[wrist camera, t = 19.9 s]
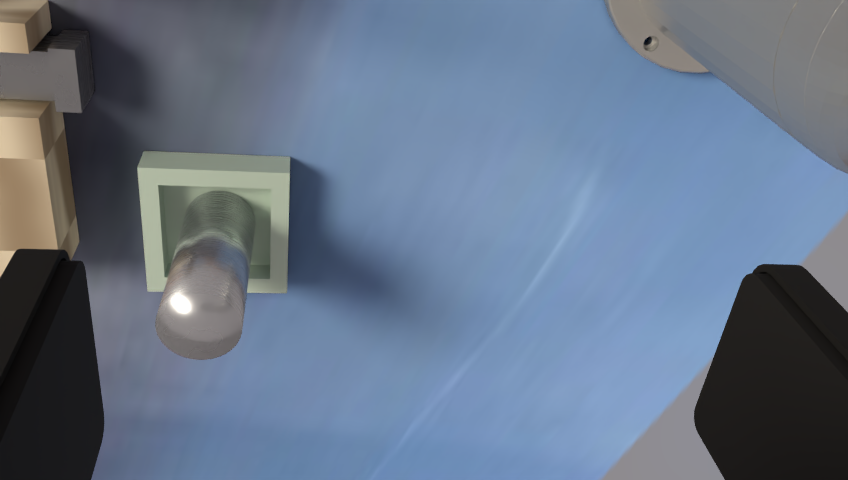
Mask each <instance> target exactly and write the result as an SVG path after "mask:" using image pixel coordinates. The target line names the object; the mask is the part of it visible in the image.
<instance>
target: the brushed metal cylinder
mask: <svg viewBox="0 0 848 480" xmlns="http://www.w3.org/2000/svg"><path fill="white" fill-rule="evenodd" d="M255 226H256V218H255V214H254V212H253V210H252V208H251V206H250V205H249V204H248V203H247V202H246V201H245V200H244V199H243V198H241V197H240V196H238V195H236V194H234V193H231V192H227V191H209V192H206V193H203V194H201V195H199V196H197V197H196V198H195V199H194V200H193V201H192V202H191V203H190V204H189V206H188V208H187V210H186V213H185V217H184V221H183V224H182V228H181V231H180V235H179V238H178V242H177V246H176V249H175V253H174V256H173V260H172V263H171V267H170V271H169V274H168V278H167V281H166V285H165V289H164V292H163V296H162V299H161V303H160V306H159V310H158V314H157V317H156V325H155V326H156V332H157V335H158V337H159V339H160V340H161V342H162V343H163V344H164V345H165V346H166V347H167V348H168V349H169V350H171V351H172V352H174V353H176V354H178V355H180V356H183V357H186V358H190V359H197V360H206V359H212V358H217V357H219V356H222V355H224V354H226V353H227V352H229V351H230V350H232V349H233V348H234V347H235V346H236V344H237V343H238V341H239V339H240V337H241V334H242V327H243V319H244V311H245V304H246V296H247V288H248V280H249V273H250V265H251V257H252V249H253V242H254V234H255Z"/></svg>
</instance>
